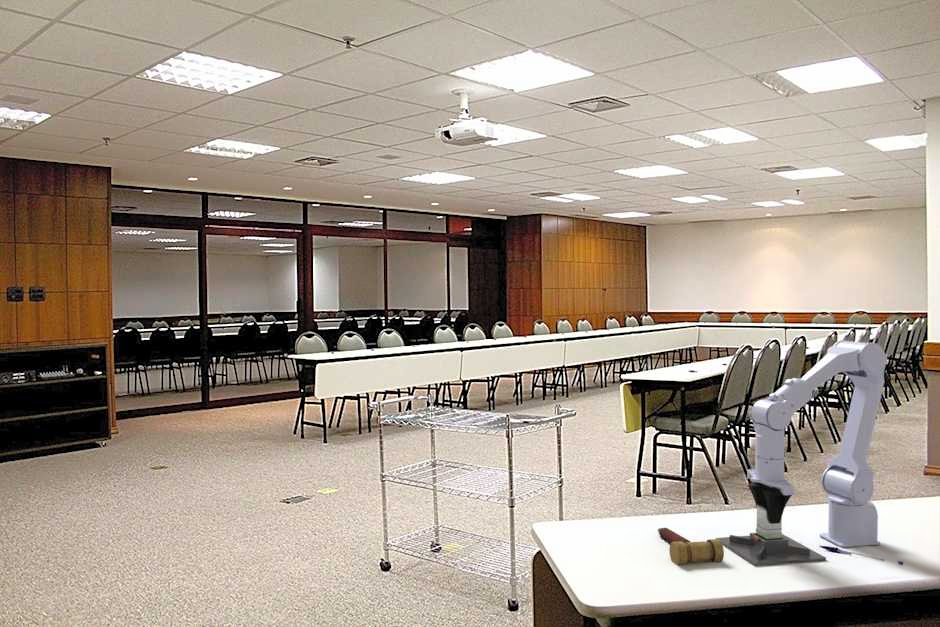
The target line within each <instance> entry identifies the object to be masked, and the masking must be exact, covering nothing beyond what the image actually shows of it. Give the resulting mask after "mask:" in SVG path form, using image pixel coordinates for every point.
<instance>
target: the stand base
mask: <svg viewBox="0 0 940 627" xmlns="http://www.w3.org/2000/svg"><path fill="white" fill-rule="evenodd" d="M715 539H718V540H720V542H721V543H722V546H723V548H724V547H725V548H726V549H728V550H729V551H730V552H732V553H733V554H735V555H736V556H738V557H740V558H742V559H743V560H744V561H746V562H748V563H749V564H751V565H752V566H754V567H763V566H774V565H775V566H776V565H788V564H789V565H791V564H800V563H801V564H802V563H812V562H813V563H814V562H824V561H825V562H826V561H827V557H826V556H824V555H822V554H820V553H818V552H817V551H814V550H813V549H811V548H809V547H807V546H806V545H804V544H802V543H800V542H798V541H796V540H794V539H793V538H790V537H788V535H785V534H784V533H782V536H781V538H776V539H765V538H763V537H761V536H759V535H758V534H757V532H750V533H749V535H739V536H738V535H734V534H730V535H729V536H725V537H716V538H715Z"/></svg>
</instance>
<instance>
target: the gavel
mask: <svg viewBox="0 0 940 627" xmlns="http://www.w3.org/2000/svg"><path fill="white" fill-rule="evenodd" d="M657 532H658V534H659V536H660V538H661V537H662V538H661V539H663V540H664V539H665V540H664V541H666V542H667V541H668V543H669V544H670V545H669V557H670V560H671V562H672V563H673V564H675V565H677V566H678V565H686V564H687V563H701V562H709V561H711V562H712V563H720V562H722V561H723V560H724V558H725V549H724V546H723V545H722V543H721V542H720V540H718V539H716V538H710V539H706V541H704V540H703V541H702V540H701V541H690V540H689V539H687V538H686V537H683V536H682V535H681V534H678V533H677V532H675V531H673V530H671V529H670V528H668V527H661V528H658V529H657Z"/></svg>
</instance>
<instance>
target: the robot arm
mask: <svg viewBox="0 0 940 627" xmlns="http://www.w3.org/2000/svg"><path fill="white" fill-rule="evenodd" d="M826 352H827V353H826V355H824V356H823V357H822V358H821V359H820V360H819V361H818V362H817V363H816V364H814V366H812V367H811V368H810V370H808V371H807V372H806V373H805V374H804V375H802V377H801V378H797V377H793V378H791V379H790V378H788V379H786V380H785V381H784V384H783V385H782V386H781V387H779V388H778V389H777V390H776V391H775V392H772V393H770V394H769V395H768V397H767V399H766V398H765V399H759V400H758V401H756V402H755V403H754V404H753V406H752V408H751V410H750V411H749V418H750V421H751V422H752V423H753V431H755V454H754V455H755V456H754V457H755V460H754V461H755V462H754V463H755V465H754V466H755V467H754V468H753V469H752V468H749V469H747V470H746V473H747V474H746V478H747V479H749V480H750V481H751V482H753V483H748V484H747V487H748V489H749V491H750V493H751V495H752V497H753V500H754V503H755V506H757V504H767V507H768V517H769V522H770V523H771V524H776V523H780V521H781V518H783V514H784V511H785V508H786V506H787V503H788V502H789V500H790V499H791V497H792V496H793V495H795V493H794V492H795V491H794V490H795V486H794V485H793V484H791V483H790V482H789V481H788V480H787V479H786V478H785V428H787V427H788V426H790V424H791V421H792V417H793V416H794V414H795V413H796V412H798V410H800V409H801V408H802V407H803V406H805V405H806V404H807V403H809V402H810V401H811V400H812V399H813V391H814V390H816V389H818V387H820V386H821V385H823V384H824V383H826V382H827V381H829V380H830V379H832V378H833V377H834V376H835V375H837V374H839V373H841V372H842V373H843V374H845V375H846V376H847V377H848V378H849V379H850V380H851V382H852V383H853V385H854V389H853V394H852V398H851V401H850V406H849V410H848V413H847V418H846V422H845V427H844V431H843V436H842V438H841V439H842V440H841V445H840V448H839V452H838V454H837V455H835V456H833V457H832V458H831V459H829V460H828V462H827V463H828V464H827V467H826V468H825V470H824V471H823V473H822V475H821V478H820V484H821V488H822V490H823V491H824V492H825V493H826V498H828V529H827V530H828V531H827V533H826V532H825V533H824V532H823V533H819V537H821V538H822V539H825V540H827V541H829V542H831V543H833V544H835V545H836V546H838V547H840V548H850V547H861V546H874V545H875V546H877V545H881V543H880V541H878V530H879V528H878V527H879V526H878V524H879V519H878V518H879V517H878V516H879V514H878V511H877V508H876V505H875V504H874V503H873V502H872V501H871V499H872V498H873V495H874V490H875V486H874V475H875V472H874V470H873V468H872V467H871V466H870V464H869V463H868V462H867V457H868V454H869V449H870V447H871V446H870V445H871V442H872V437H873V433H874V428H875V424H876V420H877V416H878V411H879V406H880V402H881V399H882V394H883V389H884V385H885V376H884V374H885V369H886V366H887V360H888V356H887V354H886V352H885V350H884V349H883V348H882V347H881V345H880V344H878V343H875V342H862V341H861V342H859V341H850V340H845V339H841V340H838V341H836V342H835V343H834V344H833V345H831V346H830V347H829V348H827V351H826ZM756 509H757V507H756Z"/></svg>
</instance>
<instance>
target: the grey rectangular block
mask: <svg viewBox="0 0 940 627" xmlns="http://www.w3.org/2000/svg"><path fill="white" fill-rule="evenodd" d="M755 506H756V505H755ZM756 507H757V508H756V528H755V533H757V534H758V535H759V536H761V537H763V538H765V539H776V538H781V536H782V534H783V532H782V530H783V526H782V522H783V520H782V518H783V517H782V518H781V521H780V523H776V524H771V523H770V522H769V517H768V507H767V504H757V506H756Z"/></svg>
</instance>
